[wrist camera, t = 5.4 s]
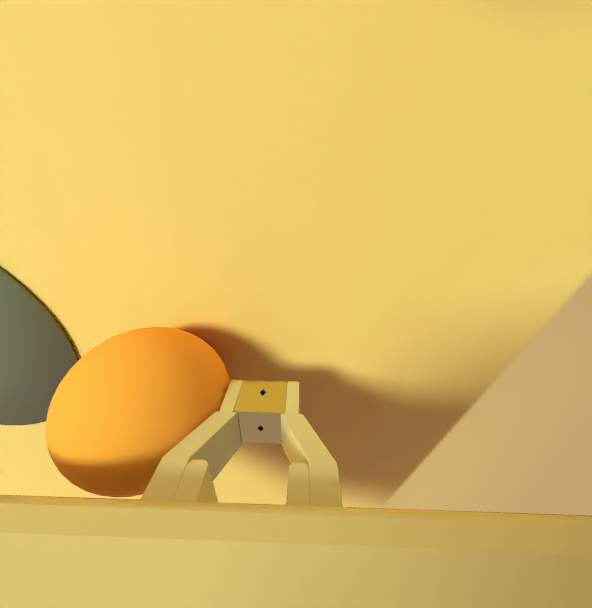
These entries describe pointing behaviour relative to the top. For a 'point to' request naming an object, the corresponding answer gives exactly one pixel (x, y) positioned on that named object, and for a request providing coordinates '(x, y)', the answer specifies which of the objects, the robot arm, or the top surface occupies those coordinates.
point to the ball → (132, 407)
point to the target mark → (29, 355)
